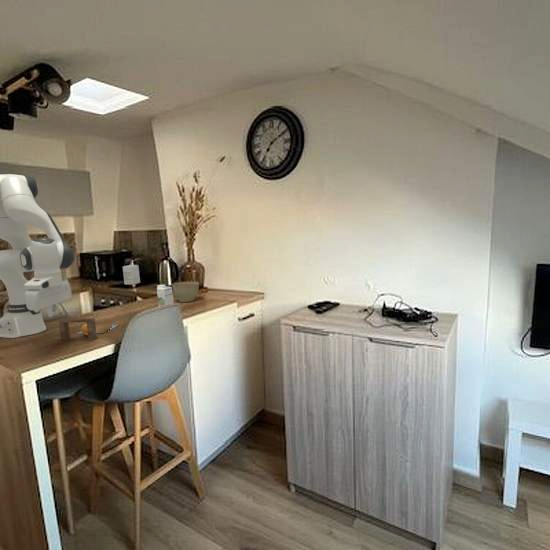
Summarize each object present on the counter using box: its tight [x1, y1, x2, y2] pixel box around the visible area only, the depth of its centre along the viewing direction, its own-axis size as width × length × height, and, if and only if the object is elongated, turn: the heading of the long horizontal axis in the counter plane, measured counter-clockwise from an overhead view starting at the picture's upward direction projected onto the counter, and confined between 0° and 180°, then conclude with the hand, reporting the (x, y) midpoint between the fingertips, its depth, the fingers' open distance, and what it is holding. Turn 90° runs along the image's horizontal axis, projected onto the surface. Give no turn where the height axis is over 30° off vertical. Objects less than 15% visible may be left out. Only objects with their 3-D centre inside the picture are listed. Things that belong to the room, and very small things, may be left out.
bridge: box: [58, 316, 98, 341], centre depth 155 cm, size 3×14×9 cm, turn 84°
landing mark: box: [76, 324, 119, 335], centre depth 169 cm, size 13×13×1 cm
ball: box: [81, 322, 88, 337], centre depth 160 cm, size 6×6×6 cm
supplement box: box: [122, 264, 141, 286], centre depth 297 cm, size 9×9×15 cm
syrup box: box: [156, 285, 174, 308], centre depth 192 cm, size 6×6×14 cm
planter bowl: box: [171, 281, 200, 303], centre depth 223 cm, size 16×16×11 cm
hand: (52, 315), depth 141 cm, fingers closed
